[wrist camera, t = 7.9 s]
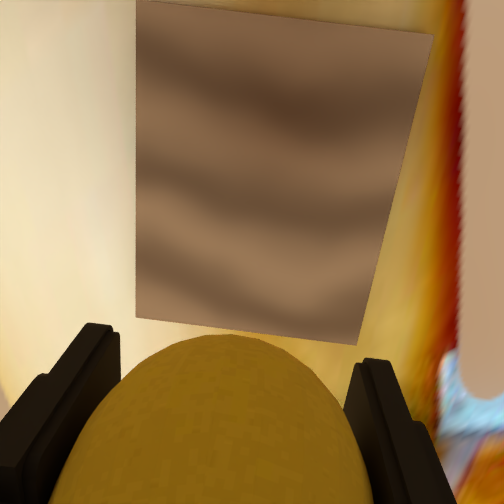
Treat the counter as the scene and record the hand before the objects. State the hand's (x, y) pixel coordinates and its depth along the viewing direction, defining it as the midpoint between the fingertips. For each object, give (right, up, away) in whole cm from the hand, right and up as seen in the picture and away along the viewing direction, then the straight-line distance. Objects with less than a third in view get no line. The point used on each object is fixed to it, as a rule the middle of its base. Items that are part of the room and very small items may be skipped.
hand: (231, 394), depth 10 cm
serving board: (+1, +7, +18) cm, 19 cm away
